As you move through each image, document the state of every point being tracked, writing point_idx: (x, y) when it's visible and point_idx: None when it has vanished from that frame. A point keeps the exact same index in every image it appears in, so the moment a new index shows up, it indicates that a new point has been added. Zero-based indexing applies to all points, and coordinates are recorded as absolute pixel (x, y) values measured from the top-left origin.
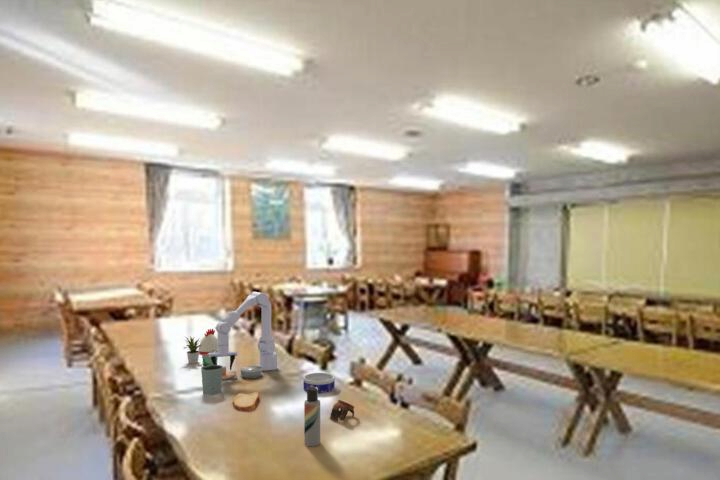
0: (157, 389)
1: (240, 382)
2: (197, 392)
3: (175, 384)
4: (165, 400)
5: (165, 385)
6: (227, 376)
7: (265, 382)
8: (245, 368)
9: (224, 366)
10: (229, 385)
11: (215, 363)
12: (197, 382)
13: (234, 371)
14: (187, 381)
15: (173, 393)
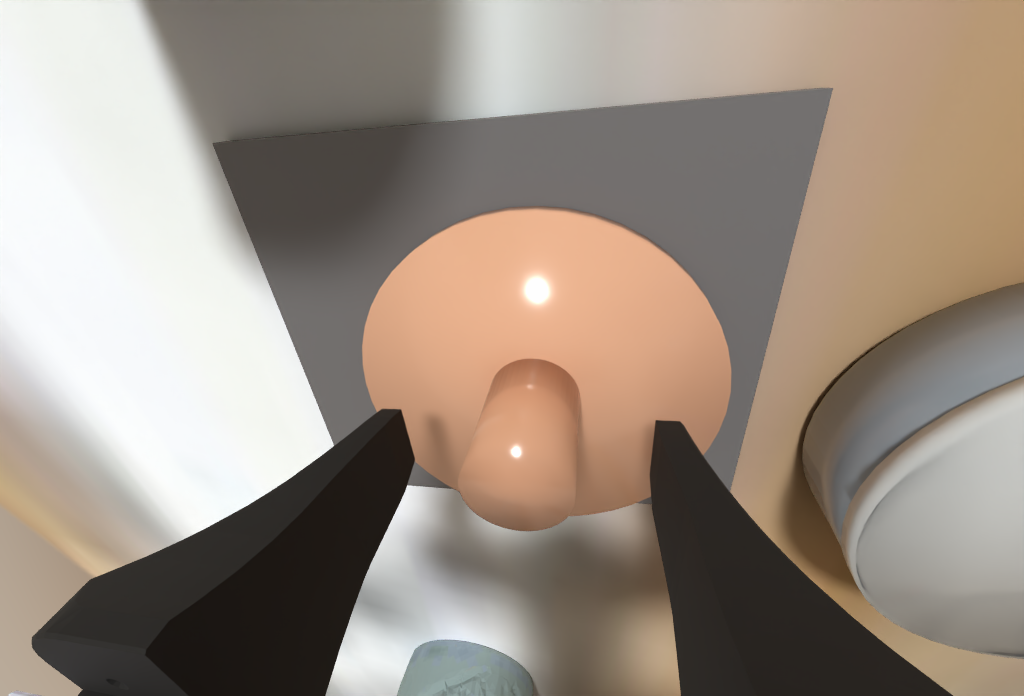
0: (63, 516)
1: None
2: (374, 642)
3: (108, 453)
4: None
5: (44, 451)
6: (594, 491)
7: (988, 670)
8: (993, 511)
9: (541, 461)
10: (599, 617)
11: (341, 615)
12: (281, 461)
13: (793, 111)
14: (160, 401)
15: None
